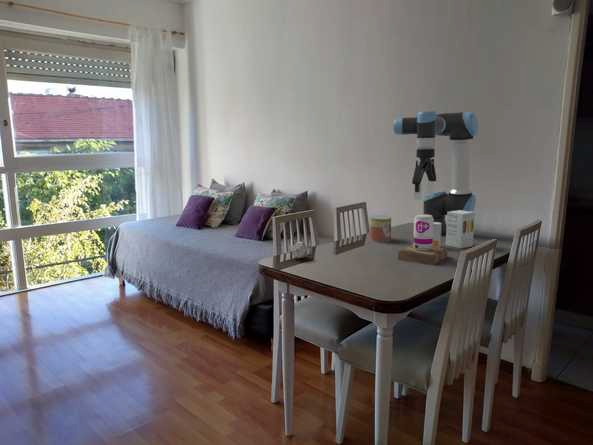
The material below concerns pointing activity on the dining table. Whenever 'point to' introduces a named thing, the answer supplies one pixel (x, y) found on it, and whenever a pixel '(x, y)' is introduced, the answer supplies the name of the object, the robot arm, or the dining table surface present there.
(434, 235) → the skincare box
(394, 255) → the dining table surface
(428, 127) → the robot arm
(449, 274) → the dining table surface
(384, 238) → the canned food
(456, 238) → the supplement box
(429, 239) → the supplement can
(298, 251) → the game die
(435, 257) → the tray
